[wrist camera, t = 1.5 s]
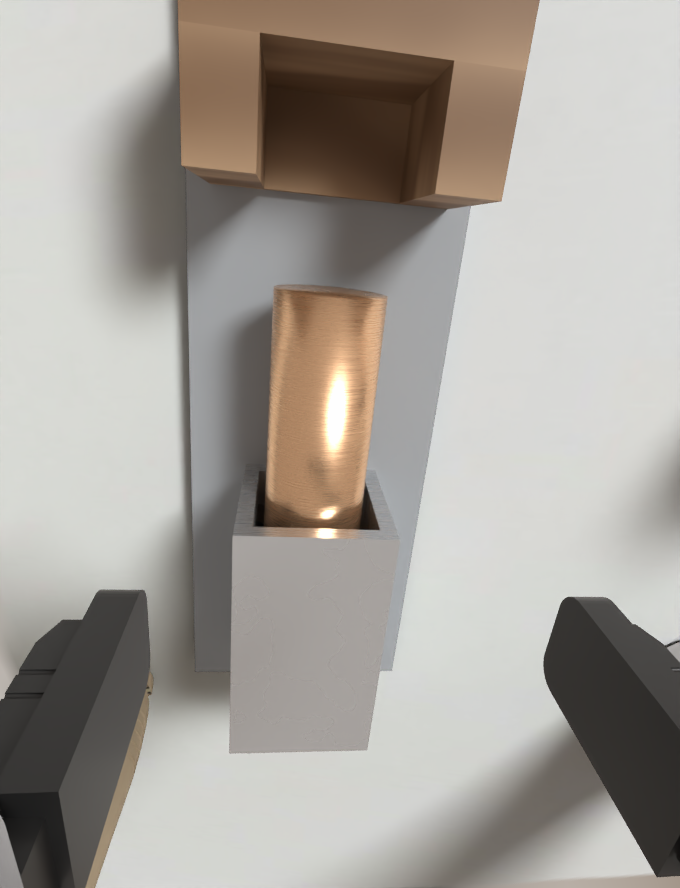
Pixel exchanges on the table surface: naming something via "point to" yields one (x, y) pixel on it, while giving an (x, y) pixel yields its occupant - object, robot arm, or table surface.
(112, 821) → the handle
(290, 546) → the steel sleeve
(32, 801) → the robot arm
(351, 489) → the copper tube
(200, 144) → the walnut socket
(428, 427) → the rubber mat
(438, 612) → the table surface
